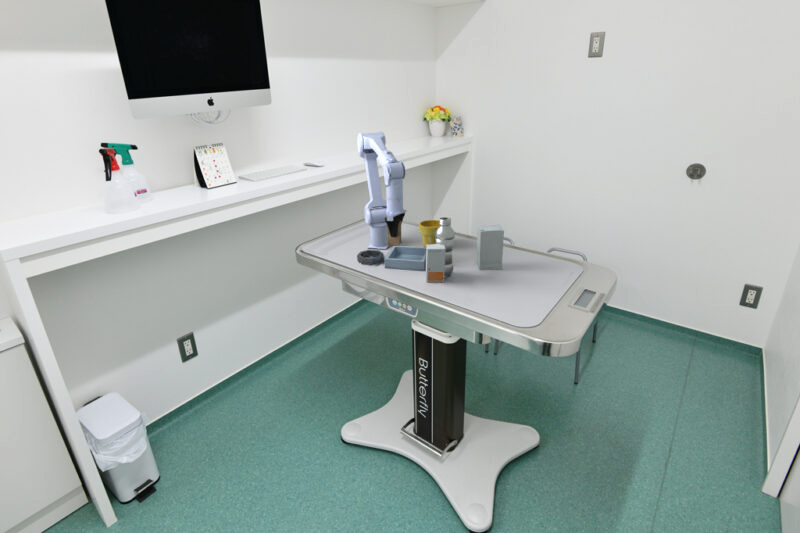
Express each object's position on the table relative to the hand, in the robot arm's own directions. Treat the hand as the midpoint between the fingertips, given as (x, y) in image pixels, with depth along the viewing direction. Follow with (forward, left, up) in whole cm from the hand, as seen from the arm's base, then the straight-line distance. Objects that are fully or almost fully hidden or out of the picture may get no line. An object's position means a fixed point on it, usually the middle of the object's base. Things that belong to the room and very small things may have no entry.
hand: (395, 234), depth 162 cm
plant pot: (-18, +10, -11) cm, 24 cm away
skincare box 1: (+13, +17, -11) cm, 24 cm away
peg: (0, 0, -4) cm, 4 cm away
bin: (0, +4, -11) cm, 11 cm away
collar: (+1, -10, -11) cm, 14 cm away
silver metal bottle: (+9, +19, -11) cm, 23 cm away
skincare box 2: (-1, +33, -11) cm, 35 cm away
